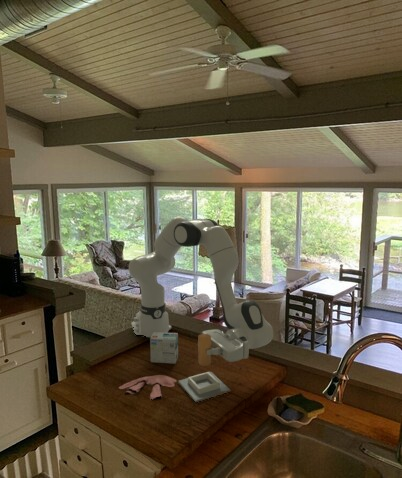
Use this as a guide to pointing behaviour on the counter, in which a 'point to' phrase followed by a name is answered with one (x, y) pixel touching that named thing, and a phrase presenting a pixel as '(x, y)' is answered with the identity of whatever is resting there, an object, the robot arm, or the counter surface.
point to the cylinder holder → (203, 386)
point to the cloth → (157, 380)
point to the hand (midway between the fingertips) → (202, 348)
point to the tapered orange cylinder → (204, 344)
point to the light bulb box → (164, 347)
